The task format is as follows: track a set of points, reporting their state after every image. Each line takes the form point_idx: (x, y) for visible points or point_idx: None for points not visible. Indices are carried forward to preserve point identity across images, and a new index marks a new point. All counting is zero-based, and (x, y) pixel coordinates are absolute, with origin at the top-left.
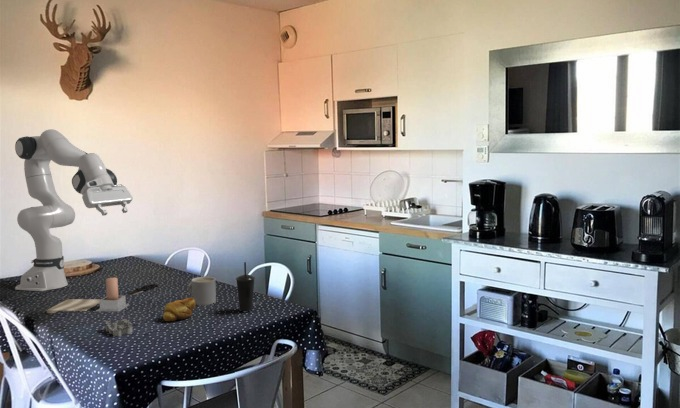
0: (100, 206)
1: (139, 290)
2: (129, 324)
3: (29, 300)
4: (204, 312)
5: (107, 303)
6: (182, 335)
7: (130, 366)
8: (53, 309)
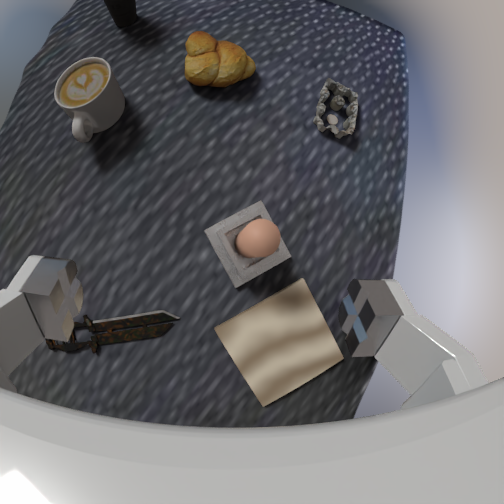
0: (454, 357)
1: (95, 334)
2: (327, 89)
3: None
4: (162, 58)
5: None
6: (283, 21)
7: (387, 28)
8: (333, 351)
